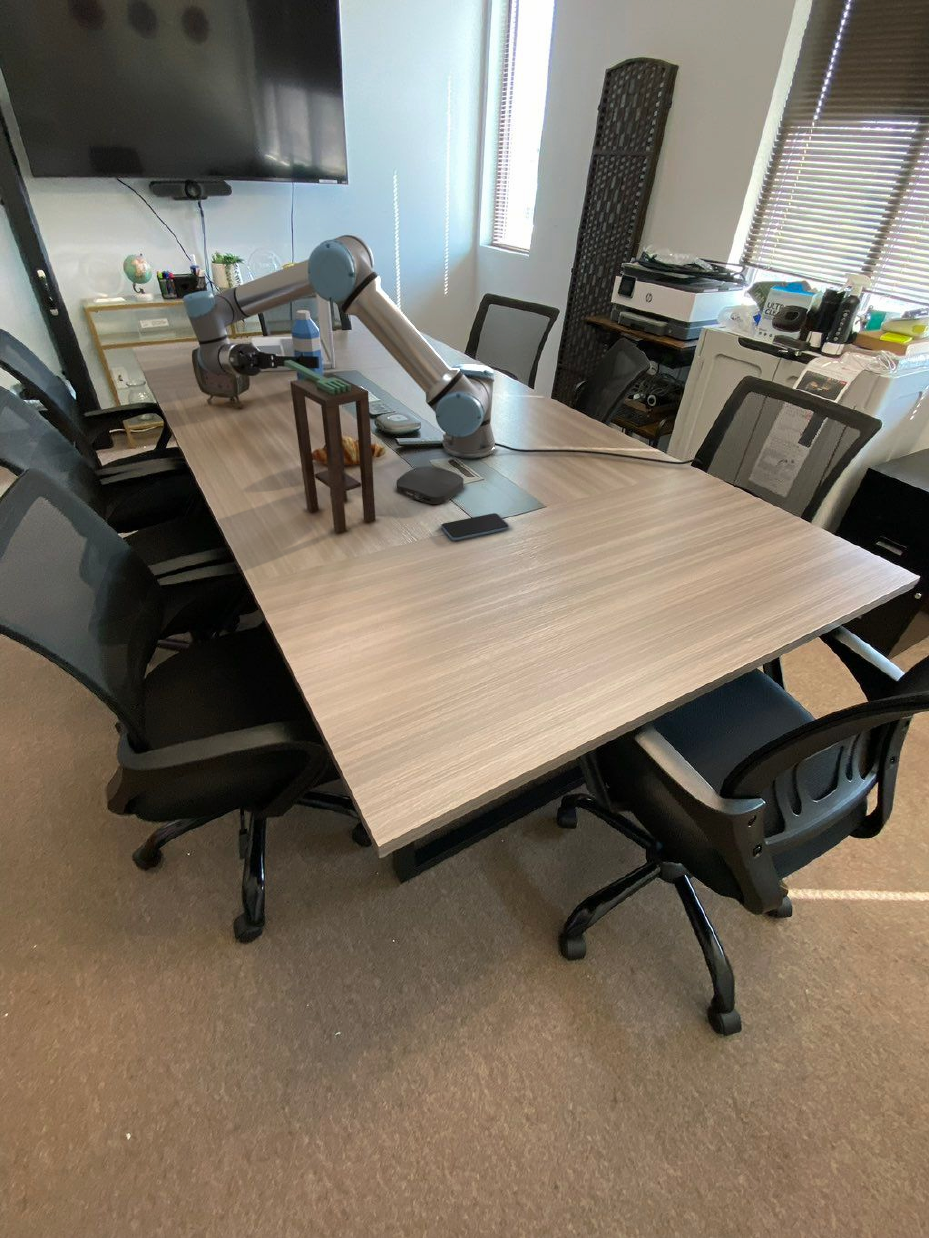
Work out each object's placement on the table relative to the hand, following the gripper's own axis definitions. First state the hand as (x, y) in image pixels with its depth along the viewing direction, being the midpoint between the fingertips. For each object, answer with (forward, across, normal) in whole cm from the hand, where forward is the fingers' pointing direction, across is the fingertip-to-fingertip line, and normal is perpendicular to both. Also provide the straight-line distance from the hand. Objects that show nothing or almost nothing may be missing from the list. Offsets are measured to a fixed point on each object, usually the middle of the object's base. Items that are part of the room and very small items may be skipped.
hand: (295, 361), depth 142 cm
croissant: (-2, -18, -25) cm, 31 cm away
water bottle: (-52, -47, -10) cm, 70 cm away
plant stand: (+18, +4, -33) cm, 38 cm away
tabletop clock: (-61, -20, -14) cm, 66 cm away
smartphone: (+45, -13, -34) cm, 58 cm away
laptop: (-88, -68, +2) cm, 111 cm away
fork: (+17, +9, -3) cm, 20 cm away
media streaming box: (+25, -21, -29) cm, 44 cm away
